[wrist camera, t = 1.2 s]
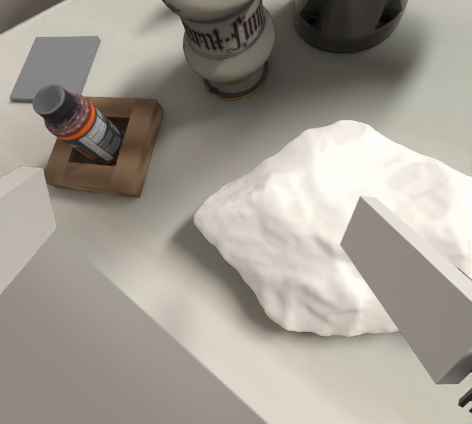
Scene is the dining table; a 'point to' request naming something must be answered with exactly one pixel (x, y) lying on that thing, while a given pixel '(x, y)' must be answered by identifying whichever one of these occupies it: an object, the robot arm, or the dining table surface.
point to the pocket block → (130, 157)
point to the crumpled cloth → (331, 223)
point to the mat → (56, 65)
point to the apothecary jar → (227, 43)
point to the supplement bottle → (79, 124)
